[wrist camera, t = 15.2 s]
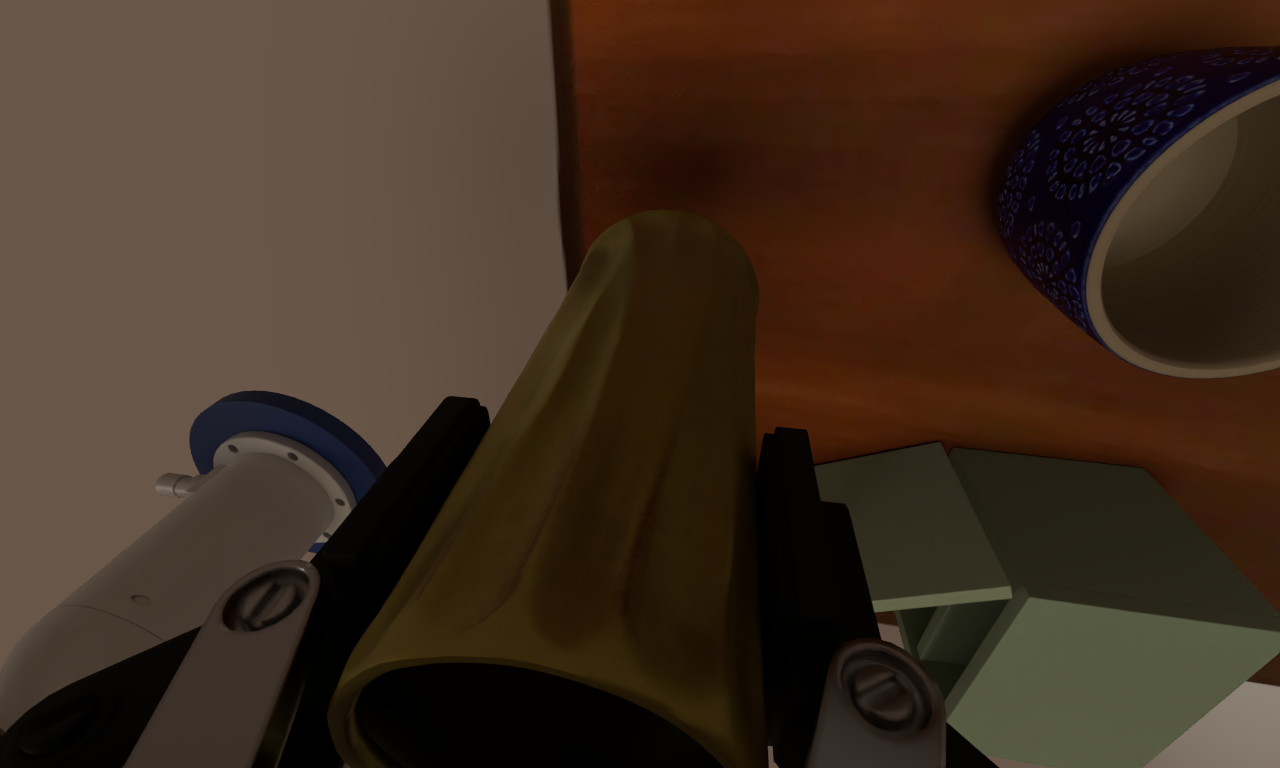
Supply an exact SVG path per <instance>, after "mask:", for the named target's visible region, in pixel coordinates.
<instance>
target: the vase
mask: <svg viewBox="0 0 1280 768" xmlns="http://www.w3.org/2000/svg"><path fill="white" fill-rule="evenodd" d="M758 305H759V287H758V281H757V278H756V274H755V271H754V269H753V266H752V264H751V262H750V260H749V258H748V256H747V254H746V253H745V251H744V249H743V248H742V247H741V245H740V244H739V243H738V242H737V241H736V239H735V238H734V237H733V236H732V235H731V234H729V233H728V232H727V231H726V230H725V229H723V228H722V227H720V226H719V225H717V224H716V223H714V222H712V221H711V220H709V219H707V218H705V217H702V216H700V215H697V214H694V213H691V212H687V211H681V210H671V209H659V210H649V211H643V212H640V213H636V214H633V215H631V216H628V217H626V218H624V219H622V220H620V221H618V222H616V223H615V224H613V225H612V226H610V227H609V228H608V229H607V230H606V231H604V232H603V233H602V234H601V235H600V236H599V237H598V238H597V239H596V240H595V241H594V242H593V244H592V245H591V246H590V248H589V250H588V252H587V254H586V256H585V259H584V261H583V263H582V266H581V269H580V272H579V274H578V275H577V277H576V279H575V280H574V282H573V284H572V286H571V288H570V289H569V291H568V293H567V295H566V297H565V299H564V301H563V303H562V305H561V306H560V308H559V310H558V311H557V313H556V315H555V316H554V318H553V320H552V321H551V323H550V325H549V326H548V328H547V330H546V331H545V333H544V335H543V336H542V338H541V340H540V342H539V343H538V345H537V347H536V348H535V351H534V352H533V354H532V356H531V357H530V359H529V361H528V362H527V364H526V366H525V368H524V370H523V371H522V373H521V374H520V376H519V378H518V379H517V381H516V383H515V385H514V386H513V388H512V389H511V391H510V393H509V394H508V396H507V398H506V400H505V401H504V403H503V405H502V407H501V408H500V410H499V412H498V413H497V415H496V417H495V419H494V420H493V422H492V424H491V425H490V427H489V429H488V430H487V432H486V434H485V435H484V437H483V439H482V440H481V442H480V444H479V445H478V447H477V449H476V450H475V452H474V454H473V456H472V457H471V459H470V461H469V462H468V464H467V466H466V467H465V469H464V471H463V472H462V474H461V476H460V477H459V479H458V480H457V482H456V484H455V485H454V487H453V489H452V490H451V492H450V494H449V495H448V497H447V499H446V500H445V502H444V504H443V506H442V507H441V509H440V511H439V513H438V514H437V516H436V518H435V520H434V521H433V523H432V525H431V527H430V529H429V530H428V532H427V534H426V536H425V537H424V539H423V541H422V543H421V544H420V546H419V548H418V550H417V552H416V553H415V555H414V557H413V558H412V560H411V562H410V563H409V565H408V566H407V568H406V570H405V571H404V573H403V575H402V576H401V578H400V579H399V581H398V583H397V584H396V586H395V588H394V589H393V591H392V592H391V594H390V596H389V597H388V599H387V600H386V602H385V603H384V605H383V607H382V608H381V610H380V611H379V613H378V614H377V616H376V617H375V618H374V620H373V621H372V623H371V624H370V626H369V627H368V628H367V630H366V631H365V633H364V634H363V636H362V637H361V639H360V640H359V642H358V643H357V645H356V646H355V648H354V650H353V651H352V653H351V655H350V657H349V659H348V661H347V663H346V666H345V668H344V670H343V673H342V675H341V677H340V680H339V682H338V685H337V687H336V690H335V692H334V694H333V696H332V698H331V701H330V704H329V708H328V712H327V720H328V726H329V730H330V733H331V737H332V740H333V743H334V745H335V748H336V751H337V752H338V754H339V755H340V756H341V757H342V759H343V760H344V761H345V762H346V764H347V765H348V766H349V767H350V768H769V764H768V745H767V730H766V714H765V696H764V677H763V653H762V629H761V610H760V584H759V553H758V526H757V505H756V417H755V360H754V352H755V334H756V315H757V311H758Z"/></svg>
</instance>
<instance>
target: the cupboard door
mask: <svg viewBox="0 0 1280 768" xmlns="http://www.w3.org/2000/svg"><path fill="white" fill-rule="evenodd" d="M814 468H815V474H816V479H817V484H818V489H819V494H820V500H821V501H826V502H835V503H844V504H845V505H846V506H847V507H848V510H849V513H850V516H851V520H852V524H853V528H854V532H855V536H856V540H857V544H858V548H859V552H860V556H861V560H862V564H863V568H864V572H865V576H866V580H867V584H868V588H869V592H870V596H871V600H872V604H873V608H874V612H882V611H892V610H902V609H912V608H922V607H932V606H942V605H952V604H962V603H972V602H982V601H992V600H1002V599H1012V589H1011V585H1010V583H1009V581H1008V579H1007V577H1006V575H1005V573H1004V571H1003V569H1002V566H1001V564H1000V562H999V560H998V558H997V556H996V554H995V552H994V550H993V548H992V546H991V544H990V542H989V540H988V538H987V536H986V534H985V532H984V530H983V528H982V526H981V524H980V522H979V520H978V518H977V516H976V514H975V511H974V509H973V507H972V505H971V503H970V501H969V499H968V497H967V495H966V493H965V491H964V489H963V487H962V485H961V483H960V481H959V479H958V477H957V475H956V473H955V471H954V469H953V467H952V465H951V463H950V461H949V459H948V456H947V454H946V452H945V450H944V448H943V446H942V444H941V442H936V443H931V444H926V445H921V446H916V447H910V448H905V449H900V450H895V451H890V452H885V453H880V454H874V455H869V456H864V457H859V458H854V459H849V460H844V461H838V462H833V463H828V464H823V465H818V466H814Z"/></svg>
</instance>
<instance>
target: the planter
mask: <svg viewBox="0 0 1280 768" xmlns="http://www.w3.org/2000/svg"><path fill="white" fill-rule="evenodd" d="M997 221H998V228H999V232H1000V236H1001V239H1002V241H1003V244H1004V246H1005V249H1006V251H1007V253H1008V255H1009V256H1010V258H1011V259H1012V261H1013V262H1014V264H1015V265H1016V266H1017V267H1018V269H1019V270H1020V271H1021V272H1022V274H1023V275H1024V276H1025V277H1026V278H1027V279H1028V280H1029V282H1030V283H1031V284H1032V285H1033V286H1034V287H1035V288H1036V289H1037V290H1038V291H1039V292H1040V293H1041V294H1042V295H1043V296H1044V297H1045V298H1047V299H1048V300H1049V301H1050V302H1051V303H1052V304H1053V305H1054V306H1055V307H1056V308H1057V309H1058V310H1060V311H1061V312H1062V313H1063V314H1064V315H1065V316H1066V317H1067V318H1069V319H1070V320H1071V321H1072V322H1073V323H1075V324H1076V325H1077V326H1078V327H1079V328H1081V329H1082V330H1083V331H1084V332H1085V333H1087V334H1088V335H1089V336H1090V337H1092V338H1093V339H1094V340H1095V341H1096V342H1098V343H1099V344H1100V345H1102V346H1103V347H1105V348H1106V349H1107V350H1109V351H1110V352H1112V353H1113V354H1114V355H1116V356H1117V357H1119V358H1120V359H1122V360H1124V361H1125V362H1127V363H1129V364H1131V365H1133V366H1136V367H1138V368H1141V369H1143V370H1146V371H1150V372H1153V373H1157V374H1161V375H1166V376H1172V377H1180V378H1195V379H1209V378H1225V377H1234V376H1241V375H1247V374H1253V373H1257V372H1262V371H1267V370H1271V369H1275V368H1279V367H1280V46H1260V47H1226V48H1213V49H1201V50H1192V51H1184V52H1176V53H1169V54H1164V55H1159V56H1155V57H1151V58H1147V59H1144V60H1140V61H1137V62H1134V63H1131V64H1128V65H1125V66H1122V67H1119V68H1117V69H1114V70H1112V71H1110V72H1107V73H1105V74H1103V75H1101V76H1099V77H1097V78H1095V79H1094V80H1092V81H1090V82H1088V83H1087V84H1085V85H1083V86H1082V87H1080V88H1079V89H1077V90H1076V91H1074V92H1073V93H1071V94H1070V95H1069V96H1067V97H1066V98H1065V99H1063V100H1062V101H1061V102H1060V103H1058V104H1057V105H1056V106H1055V107H1054V108H1053V109H1052V110H1050V111H1049V112H1048V113H1047V114H1046V115H1045V116H1044V117H1043V118H1042V119H1041V120H1040V121H1039V122H1038V123H1037V124H1036V125H1035V126H1034V128H1033V129H1032V130H1031V131H1030V132H1029V134H1028V135H1027V136H1026V137H1025V139H1024V140H1023V141H1022V143H1021V144H1020V146H1019V147H1018V149H1017V151H1016V152H1015V154H1014V156H1013V157H1012V159H1011V161H1010V163H1009V166H1008V168H1007V170H1006V173H1005V175H1004V178H1003V181H1002V184H1001V188H1000V192H999V197H998V205H997Z"/></svg>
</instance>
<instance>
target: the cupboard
mask: <svg viewBox="0 0 1280 768" xmlns="http://www.w3.org/2000/svg"><path fill="white" fill-rule="evenodd" d="M948 459H949V461H950V463H951V465H952V467H953V469H954V471H955V473H956V475H957V477H958V479H959V481H960V483H961V485H962V487H963V489H964V491H965V493H966V495H967V497H968V499H969V501H970V503H971V505H972V507H973V509H974V511H975V514H976V516H977V518H978V520H979V522H980V524H981V526H982V528H983V530H984V532H985V534H986V536H987V538H988V540H989V542H990V544H991V546H992V548H993V550H994V552H995V554H996V556H997V558H998V560H999V562H1000V564H1001V566H1002V569H1003V571H1004V573H1005V575H1006V577H1007V579H1008V581H1009V583H1010V585H1011V589H1012V599H1002V600H992V601H982V602H972V603H962V604H952V605H942V606H932V607H922V608H912V609H902V610H894V611H895V615H896V619H897V623H898V627H899V630H900V634H901V638H902V642H903V645H904V649H905V650H906V651H907V652H909V653H910V654H911V655H912V656H914V657H915V658H916V659H917V660H918V661H920V662H921V663H922V664H923V665H924V666H925V668H926V669H927V670H928V671H929V673H930V674H931V675H932V676H933V678H934V679H935V680H936V682H937V685H938V687H939V689H940V691H941V693H942V695H943V697H944V703H945V710H946V722H947V723H949V724H950V725H951V726H952V727H953V728H954V729H955V730H957V731H958V732H959V733H960V734H961V735H962V736H963V737H965V738H966V739H967V740H968V741H969V742H970V743H971V744H973V745H974V746H975V747H976V748H977V749H978V750H979V751H980V752H982V753H983V754H984V755H985V756H991V757H997V758H1002V759H1008V760H1014V761H1020V762H1025V763H1031V764H1037V765H1043V766H1048V767H1054V768H1142V767H1144V766H1145V765H1146V764H1147V763H1149V762H1150V761H1151V760H1152V759H1153V758H1155V757H1156V756H1157V755H1158V754H1159V753H1160V752H1162V751H1163V750H1164V749H1165V748H1166V747H1168V746H1169V745H1170V744H1171V743H1172V742H1174V740H1176V739H1177V738H1178V737H1180V736H1181V735H1182V734H1183V733H1184V732H1185V731H1187V730H1188V729H1189V728H1190V727H1191V726H1193V725H1194V724H1195V723H1196V722H1197V721H1198V720H1200V719H1201V718H1202V717H1203V716H1205V715H1206V714H1207V713H1208V712H1209V711H1210V710H1212V709H1213V708H1214V707H1215V706H1216V705H1218V704H1219V703H1220V702H1221V701H1222V700H1224V699H1225V698H1226V697H1227V696H1228V695H1230V694H1231V693H1232V692H1233V691H1234V690H1236V689H1237V688H1238V687H1239V686H1240V685H1241V684H1243V683H1244V682H1245V681H1246V680H1247V679H1249V678H1250V677H1251V676H1252V675H1253V674H1255V673H1256V672H1257V671H1258V670H1259V669H1261V668H1262V667H1263V666H1264V665H1265V664H1267V663H1268V662H1269V661H1270V660H1271V659H1272V658H1274V657H1275V656H1276V655H1277V654H1278V653H1280V613H1279V612H1278V611H1277V610H1276V609H1275V608H1274V607H1273V606H1272V605H1271V604H1270V603H1269V602H1268V601H1267V600H1266V598H1265V597H1264V596H1263V595H1262V594H1261V593H1260V592H1259V591H1258V590H1257V589H1256V588H1255V587H1254V586H1253V585H1252V583H1251V582H1250V581H1249V580H1248V579H1247V578H1246V577H1245V576H1244V575H1243V574H1242V573H1241V572H1240V571H1239V570H1238V568H1237V567H1236V566H1235V565H1234V564H1233V563H1232V562H1231V561H1230V560H1229V559H1228V558H1227V557H1226V556H1225V555H1224V554H1223V552H1222V551H1221V550H1220V549H1219V548H1218V547H1217V546H1216V545H1215V544H1214V543H1213V542H1212V541H1211V540H1210V539H1209V537H1208V536H1207V535H1206V534H1205V533H1204V532H1203V531H1202V530H1201V529H1200V528H1199V527H1198V526H1197V525H1196V524H1195V522H1194V521H1193V520H1192V519H1191V518H1190V517H1189V516H1188V515H1187V514H1186V513H1185V512H1184V511H1183V510H1182V509H1181V507H1180V506H1179V505H1178V504H1177V503H1176V502H1175V501H1174V500H1173V499H1172V498H1171V497H1170V496H1169V495H1168V494H1167V492H1166V491H1165V490H1164V489H1163V488H1162V487H1161V486H1160V485H1159V484H1158V483H1157V482H1156V481H1155V480H1154V479H1153V478H1152V477H1151V476H1150V475H1149V473H1148V472H1147V471H1146V470H1145V469H1144V468H1137V467H1128V466H1119V465H1110V464H1101V463H1092V462H1083V461H1073V460H1064V459H1055V458H1046V457H1037V456H1028V455H1019V454H1010V453H1001V452H991V451H982V450H973V449H964V448H955V447H953V448H952V449H951V452H950V454H949V456H948Z"/></svg>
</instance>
